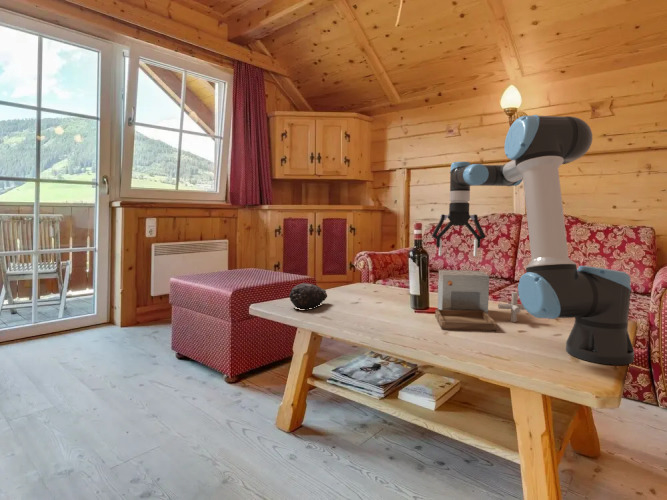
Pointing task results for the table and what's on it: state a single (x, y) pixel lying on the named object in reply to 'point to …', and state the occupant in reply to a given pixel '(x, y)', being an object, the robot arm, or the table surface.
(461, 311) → the tray
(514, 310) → the pipe connector
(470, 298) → the box
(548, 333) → the table surface
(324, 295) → the black oval piece
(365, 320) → the table surface
